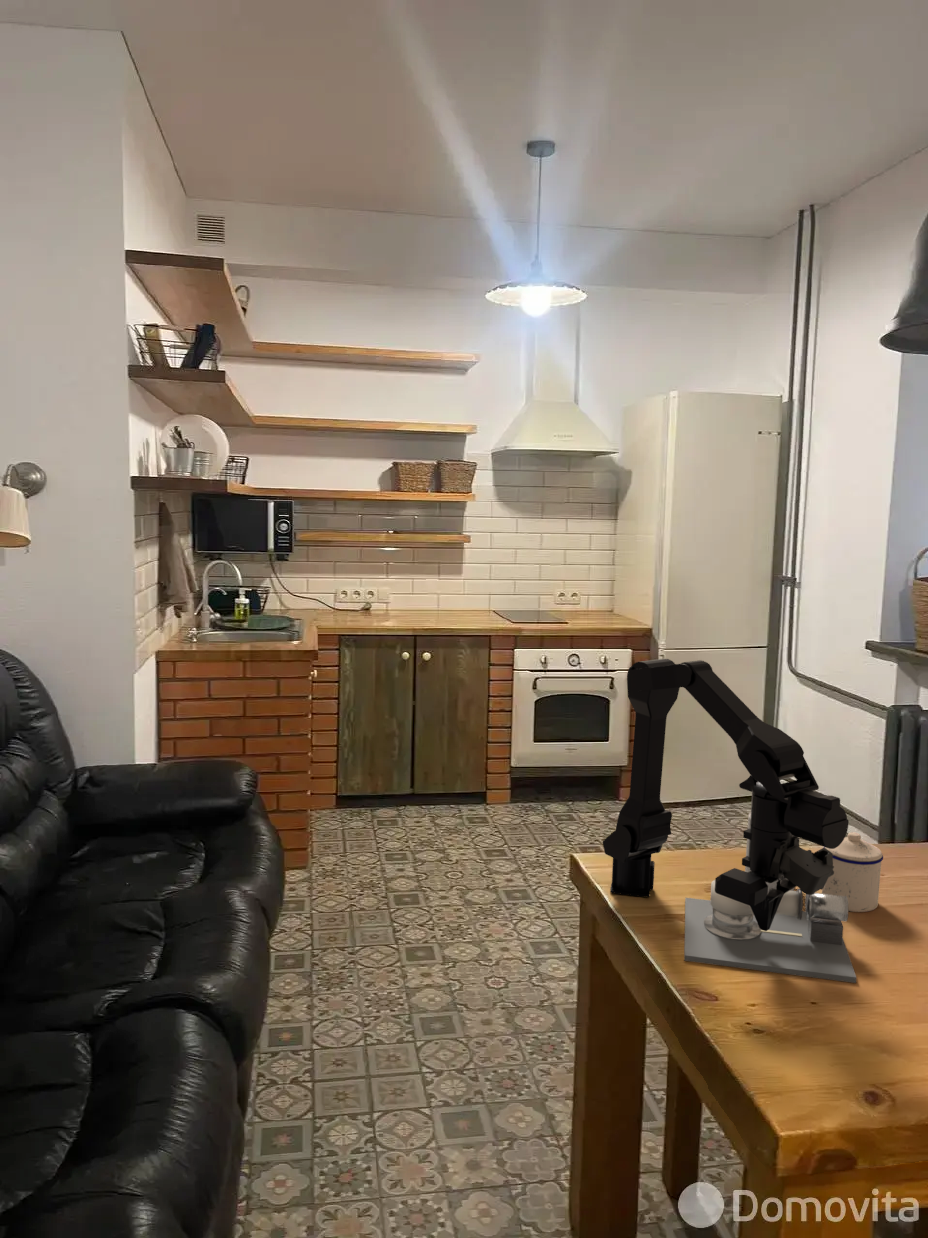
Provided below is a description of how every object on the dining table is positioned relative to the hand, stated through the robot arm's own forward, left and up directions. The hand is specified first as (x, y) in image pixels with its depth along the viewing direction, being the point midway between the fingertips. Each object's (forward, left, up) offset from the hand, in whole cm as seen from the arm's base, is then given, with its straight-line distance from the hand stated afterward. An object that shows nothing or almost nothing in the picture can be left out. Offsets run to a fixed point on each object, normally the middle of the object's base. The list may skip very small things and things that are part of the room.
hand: (764, 929), depth 133 cm
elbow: (-1, +6, 0) cm, 6 cm away
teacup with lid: (+14, +23, -4) cm, 28 cm away
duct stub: (-4, +6, -4) cm, 9 cm away
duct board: (0, +5, -4) cm, 7 cm away
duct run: (+9, +6, -4) cm, 12 cm away
